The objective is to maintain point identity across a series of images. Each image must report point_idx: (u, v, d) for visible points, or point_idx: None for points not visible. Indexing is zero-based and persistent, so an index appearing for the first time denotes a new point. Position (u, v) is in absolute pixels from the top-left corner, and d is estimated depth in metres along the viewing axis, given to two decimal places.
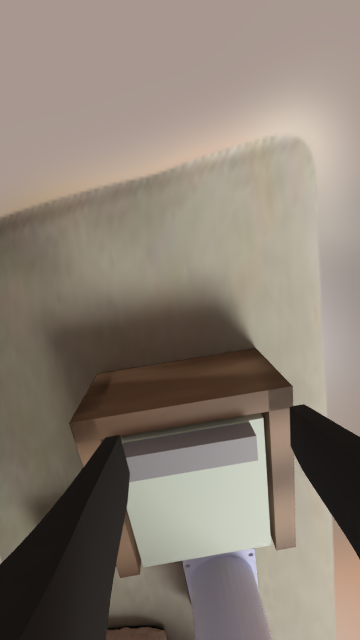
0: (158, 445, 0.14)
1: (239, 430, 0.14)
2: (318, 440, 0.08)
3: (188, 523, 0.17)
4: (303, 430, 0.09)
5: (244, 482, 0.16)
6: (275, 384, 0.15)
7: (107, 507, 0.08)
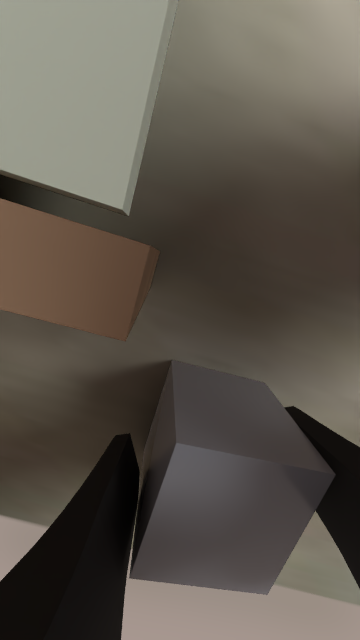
0: None
1: None
2: None
3: None
4: None
5: None
6: None
7: (120, 505, 0.08)
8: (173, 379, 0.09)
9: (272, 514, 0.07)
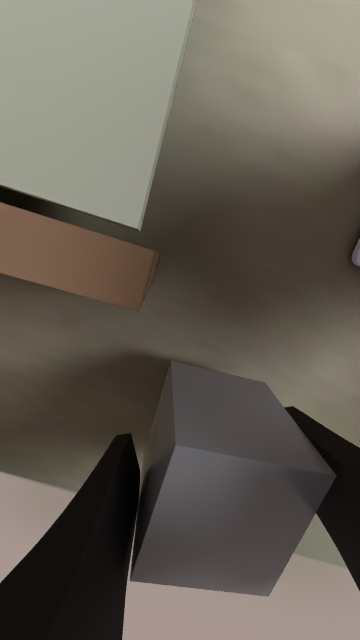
0: None
1: None
2: None
3: None
4: None
5: None
6: None
7: (121, 504, 0.08)
8: (173, 380, 0.09)
9: (273, 516, 0.07)
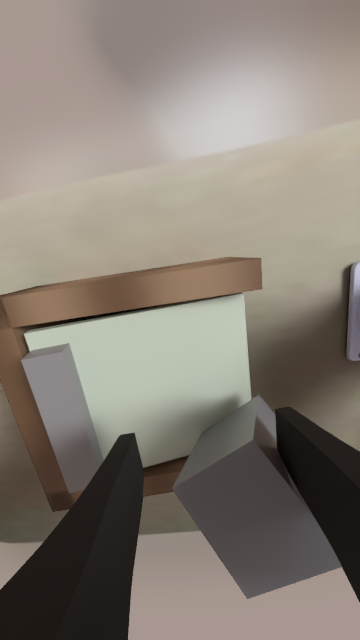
0: None
1: None
2: (301, 443, 0.08)
3: (193, 399, 0.14)
4: (287, 433, 0.09)
5: (131, 343, 0.13)
6: None
7: (126, 503, 0.08)
8: (193, 448, 0.13)
9: (259, 492, 0.09)
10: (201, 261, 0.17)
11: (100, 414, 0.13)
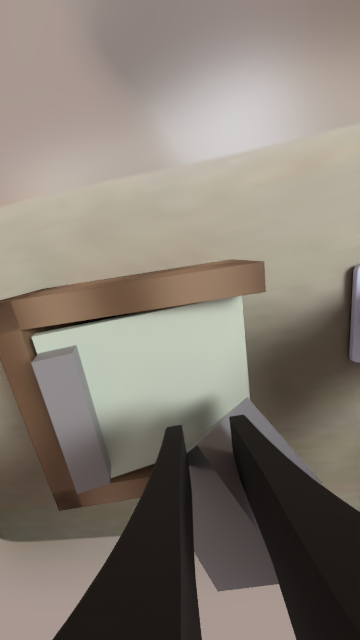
0: None
1: None
2: (245, 452, 0.08)
3: (195, 396, 0.15)
4: (237, 441, 0.09)
5: (136, 343, 0.13)
6: None
7: (185, 493, 0.08)
8: (189, 446, 0.14)
9: (209, 495, 0.10)
10: (204, 264, 0.17)
11: (106, 414, 0.14)
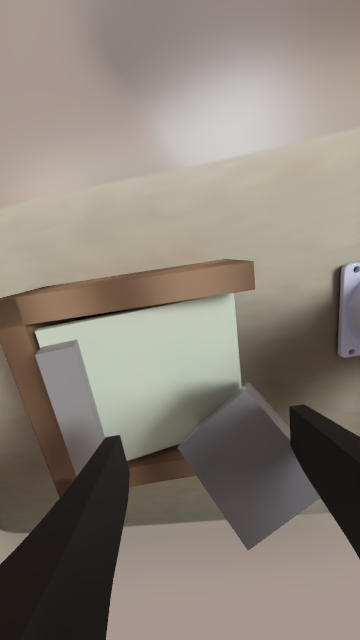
0: None
1: None
2: (318, 440, 0.08)
3: (190, 388, 0.16)
4: (303, 430, 0.09)
5: (134, 338, 0.14)
6: None
7: (107, 507, 0.08)
8: (193, 429, 0.15)
9: (253, 436, 0.11)
10: (199, 263, 0.18)
11: (105, 405, 0.14)
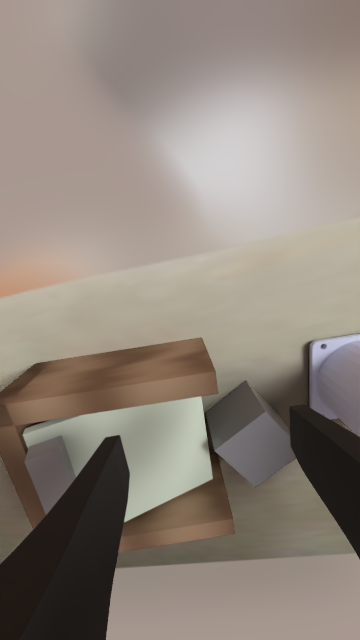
0: None
1: None
2: (318, 440, 0.08)
3: (164, 459, 0.18)
4: (303, 430, 0.09)
5: (113, 426, 0.16)
6: None
7: (107, 507, 0.08)
8: (231, 436, 0.17)
9: (262, 399, 0.20)
10: (177, 343, 0.19)
11: None
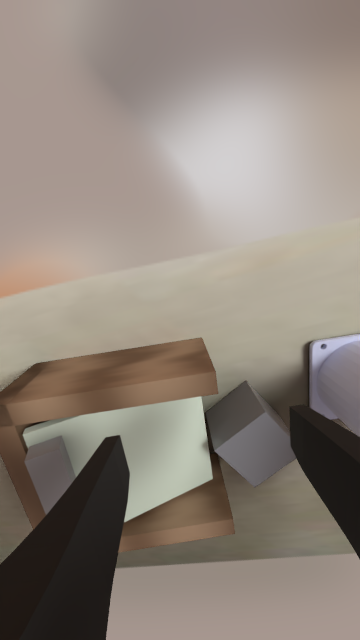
0: None
1: None
2: (318, 440, 0.08)
3: (164, 459, 0.18)
4: (303, 430, 0.09)
5: (113, 426, 0.16)
6: None
7: (107, 507, 0.08)
8: (231, 437, 0.17)
9: (262, 399, 0.20)
10: (177, 343, 0.19)
11: None
